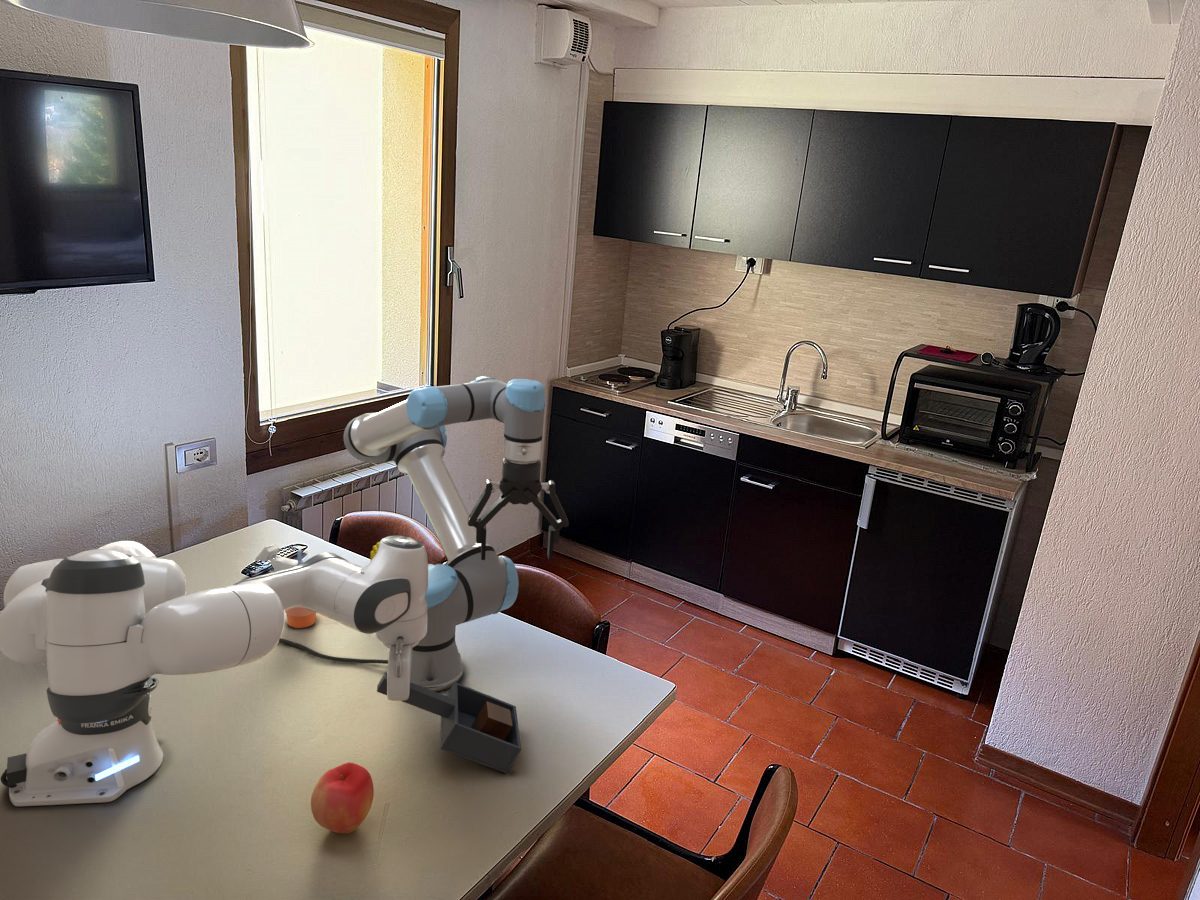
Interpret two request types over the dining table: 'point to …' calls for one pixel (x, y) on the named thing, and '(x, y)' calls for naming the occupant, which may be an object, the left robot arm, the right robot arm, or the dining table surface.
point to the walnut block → (493, 721)
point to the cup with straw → (300, 611)
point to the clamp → (278, 563)
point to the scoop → (466, 724)
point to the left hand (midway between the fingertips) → (400, 692)
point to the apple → (342, 798)
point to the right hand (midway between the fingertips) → (516, 557)
